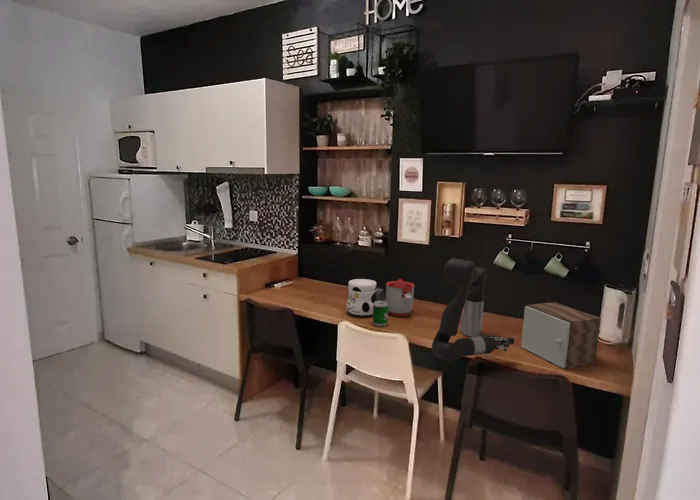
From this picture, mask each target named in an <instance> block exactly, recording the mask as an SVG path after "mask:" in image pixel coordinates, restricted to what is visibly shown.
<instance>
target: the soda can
mask: <svg viewBox="0 0 700 500" xmlns="http://www.w3.org/2000/svg"><path fill="white" fill-rule="evenodd" d="M388 314H389V313H388V303H387V302H386V300H385V301H382V300H378V301H375V302H374V303H373V315H372V324H373V325H374V326H375V327H385V326H386V325H387V324H388V317H389V315H388Z"/></svg>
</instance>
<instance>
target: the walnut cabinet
mask: <svg viewBox="0 0 700 500" xmlns="http://www.w3.org/2000/svg"><path fill="white" fill-rule="evenodd" d="M526 306H528V307H530V308H533V309H535V310H538V311H541V312H543V313H546V314H548V315H551V316H553V317H556V318H559V319H561V320H564V321H566V322H569V323H570V332H569V341H568V350H567V358H566V367H565V368H564V369H565V370H569V369H574V368H575V369H576V368H581V367H586V366H590V365H596V359H597V351H598V343H599V335H600V326H601V319H602V318H601V317H600V316H596V315H593V314H590V313H587V312H584V311H582V310H578V309H575V308H572V307H570V306H567V305H564V304H561V303H559V302H555V301H551V302H543V303H541V302H540V303H533V304H527V305H526Z"/></svg>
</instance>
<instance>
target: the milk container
mask: <svg viewBox="0 0 700 500" xmlns="http://www.w3.org/2000/svg"><path fill="white" fill-rule="evenodd" d="M347 286H348V288H347V291H348V293H347V300H346V303H345V305H346V307H345V308H346V312H347V313H348V314H349V315H352V316H354V317H355V316H356V317H369V316H370V317H371V316H373V303H374V302H375V301H377V299H376V293H377V288H378V287H377V282H376V280H372V279H369V278H368V279H367V278H355V279H351V280H349V281H348V284H347Z"/></svg>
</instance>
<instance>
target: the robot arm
mask: <svg viewBox="0 0 700 500" xmlns="http://www.w3.org/2000/svg"><path fill="white" fill-rule="evenodd" d="M475 265H476V264H475V263H474V261H471V260H465V259H462V258H460V259H459V258H456V257H455V258H454V257H453V258H450V259H448V260H447V261H446V263H445V264H444V268H443V271H444V276H445V279H446V280H448V281H450V282H453V283H454V282H455V283H458V284H461V288H460V290H459V292H457V293H458V294H457V295H456V296H455V297H454V298H453V299H452V300H451V301H450V302H449V303H448V304H447V305H446V307H445V308H444V309H443V311H442V314H441V320H440V322H439V323H440V324H439V329H438V330H437V332H436V335H435V336H434V339H433V341H432V342H431V343H432V344H431V352H432V354H433V355H434V356H435V357H436V358H439V359H441V360H443V361H446V362H452V361H456V360H458V359H461V358H464V357H468V356H479V355H488V354H491V353H493V351H495V350H501V349H502V350H503V351H504V352H507V351H508V350H509V348H510V345H513V344H514V343H515V338H514V337H501V336H500V335H492V334H491V335H490V334H482V332H483V330H482V329H483V317H484V304H485V290H486V289H485V288H486V284H487V282H486V281H487V275H488V274H487V273H488V272H487V269H486V268H484V267H477V266H475ZM471 287H477V288H476V289H474V290H471ZM470 290H471V291H470ZM459 326H460V332H461V333H462V334H463V335H464V336H468V337H462V338H458V339H456V340H455V341H454V342H449V341H450V339H451V338H452V337H455V336H456V335H457V334H458V331H459Z"/></svg>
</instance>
